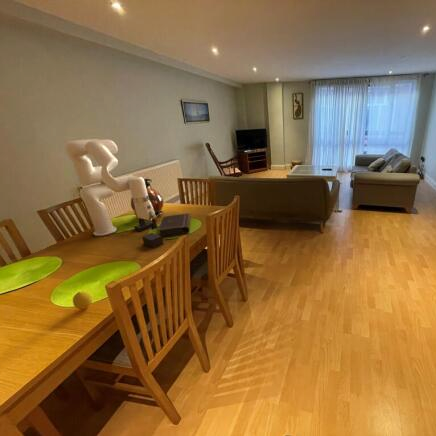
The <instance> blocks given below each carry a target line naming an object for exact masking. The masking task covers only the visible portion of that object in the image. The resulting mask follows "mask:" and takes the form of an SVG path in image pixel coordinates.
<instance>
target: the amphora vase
mask: <svg viewBox="0 0 436 436" xmlns="http://www.w3.org/2000/svg"><path fill="white" fill-rule="evenodd" d="M143 179H144V181H145V185H146V189H147V193H148V197H149V201H150V202H151V204H152V207H153V209H154V212H155V215H156V216H157V218H159V217H160V216H162V215H163V211H162V210H163V208H164V205H165V203H164V199H163V197H162V195H161V194H160V192H158V191H157V190H156V189H154V188H153V187H152V186H151V183H152V181H153V180H152V178H151V179H150V178H143ZM130 207H131V209H132V211H133V212H136V211H135V205H134V201H133V198H132V196H131V198H130ZM150 218H151V217H150Z"/></svg>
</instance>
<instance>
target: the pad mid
mask: <svg viewBox="0 0 436 436" xmlns="http://www.w3.org/2000/svg"><path fill="white" fill-rule="evenodd" d="M141 238H142V241H143V240H144V241H146V242H148V243H151V244H154V243H157V242H159V241H161V240H162V241H163V237H161V236H160V234H157V233H154V232H149V233H147V234H145V235H142V236H141Z"/></svg>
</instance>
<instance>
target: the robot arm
mask: <svg viewBox="0 0 436 436" xmlns="http://www.w3.org/2000/svg"><path fill="white" fill-rule="evenodd" d="M64 148H65V152H66V154H67V156H68V157H69V159H70V160H71V162H72V164H73V168H74V170H75V174H76V177H77V179H78V182H79V183H80V184H82V185H84V186H85V185H88V186H85V187H82V188H80V189H79V192H78V193H79V196H80V198H81V199H82V201H83V203H84V204H85V207H86V209H87V211H88V215H89V217H90V220H91V222H92V225H93V228H94V230H95V231H94V232H93V235H94V236H95V237H104V236H109V235H110V234H113V233H115V232H117V229H118V228H117V227H116V226H113V223H112V220H111V217H110V212H109V211H108V208H107V206H106V204H105V203H103V202H102V200H104V199H107V198H110V197H112V196H113V195H114V194H115V193H121V192H126V191H129V190H130V194H131V197H132V198H133V201H134V205H135V211H136V212H134V211H133V212H134V215H135V217H136V218H137V221H138V225H140V227H143V226H145V225H146V221H149V222H151V223H150V225H151V228H150V229H151V230H152V231H153V230H155V229H158V224H157V220H158V217H157V216H156V215H155V212H154V209H153V207H152V204H151V202H150V201H149V197H148V193H147V189H146V185H145V181H144V179H145V178H143V177H142V176H137V175H134V174H128V175H124V176H119V177H113V176H112V174H111V173H110V172H111V171H113V170H114V169H115V168H116V167H117V166H118V164H119V160H118V159H117V158H116V156H114V155H115V154H117V153H118V152H119V151H118V150H119V148H118V145H117V144H116V142H114V141H113V140H111V139H107V138H106V139H105V138H91V139H75V140H70V141H67V142H66V144H65V146H64ZM89 156H91V157H92V158H93V160H94V161H95V162H96V163H97V164H98V165H99V166H97V165H96V166H93V162H92V160H91V158H89ZM150 217H151V218H150Z"/></svg>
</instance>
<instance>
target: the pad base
mask: <svg viewBox="0 0 436 436" xmlns="http://www.w3.org/2000/svg"><path fill="white" fill-rule="evenodd" d="M142 241H143V245H145V246H148V247H150V248H152V249H155V248H157V247H159V246H162V245H164V242H163V239H162V240H161V241H159V242H157V243H154V244H151V243H148V242H146V241H144V240H143V239H142Z"/></svg>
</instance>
